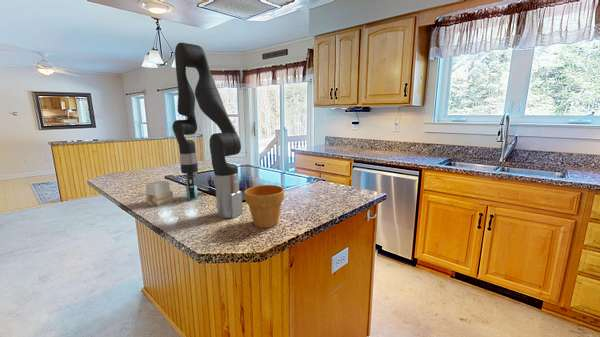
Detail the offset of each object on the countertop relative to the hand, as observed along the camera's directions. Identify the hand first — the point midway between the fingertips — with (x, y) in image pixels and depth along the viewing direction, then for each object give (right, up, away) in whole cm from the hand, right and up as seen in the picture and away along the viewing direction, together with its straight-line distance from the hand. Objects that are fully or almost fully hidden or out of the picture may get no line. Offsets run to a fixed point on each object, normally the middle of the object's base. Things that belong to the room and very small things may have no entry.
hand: (192, 196), depth 137 cm
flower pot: (+40, -7, -31) cm, 51 cm away
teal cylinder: (0, -1, 0) cm, 1 cm away
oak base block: (-13, -3, -5) cm, 14 cm away
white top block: (-13, +2, -6) cm, 15 cm away
